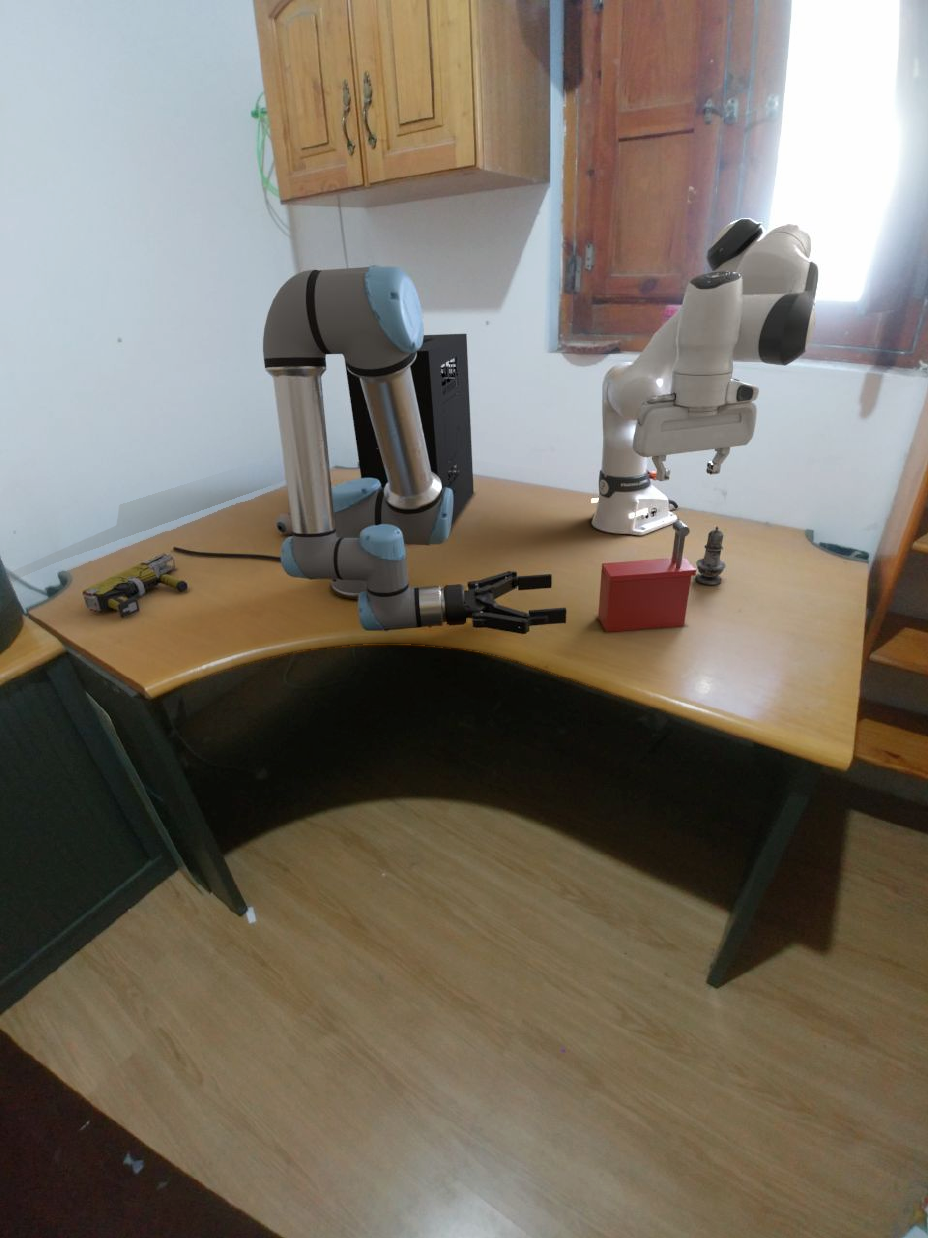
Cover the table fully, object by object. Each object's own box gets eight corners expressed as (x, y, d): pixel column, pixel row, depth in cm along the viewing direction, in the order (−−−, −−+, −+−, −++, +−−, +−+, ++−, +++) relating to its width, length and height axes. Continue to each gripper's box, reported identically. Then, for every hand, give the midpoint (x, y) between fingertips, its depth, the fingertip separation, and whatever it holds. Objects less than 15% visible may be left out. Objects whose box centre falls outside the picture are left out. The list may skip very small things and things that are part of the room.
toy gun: (211, 561, 143) (160, 551, 147) (132, 605, 123) (75, 591, 127) (214, 579, 146) (164, 568, 150) (137, 625, 126) (81, 610, 130)
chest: (672, 611, 119) (679, 563, 113) (683, 625, 114) (691, 576, 109) (598, 617, 118) (601, 569, 113) (606, 632, 113) (609, 582, 108)
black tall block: (442, 539, 156) (428, 350, 134) (369, 536, 161) (343, 353, 138) (473, 492, 188) (466, 333, 165) (411, 491, 192) (396, 335, 170)
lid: (683, 562, 113) (690, 516, 109) (695, 575, 109) (703, 528, 104) (601, 568, 113) (604, 522, 108) (609, 582, 108) (613, 534, 103)
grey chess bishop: (725, 585, 126) (735, 532, 120) (695, 584, 127) (704, 531, 121) (720, 573, 131) (730, 521, 125) (692, 572, 132) (700, 520, 126)
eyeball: (273, 537, 164) (268, 516, 161) (287, 528, 169) (282, 508, 166) (291, 539, 161) (286, 518, 158) (305, 530, 166) (301, 510, 163)
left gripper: (443, 592, 124) (545, 585, 124) (447, 660, 102) (571, 650, 103) (440, 559, 120) (546, 551, 121) (444, 622, 98) (573, 612, 99)
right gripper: (649, 400, 91) (640, 489, 98) (768, 387, 94) (752, 474, 101) (629, 393, 96) (622, 478, 103) (743, 382, 100) (729, 464, 107)
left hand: (558, 597), depth 112 cm, fingers open, 13 cm apart
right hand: (687, 476), depth 102 cm, fingers open, 8 cm apart
